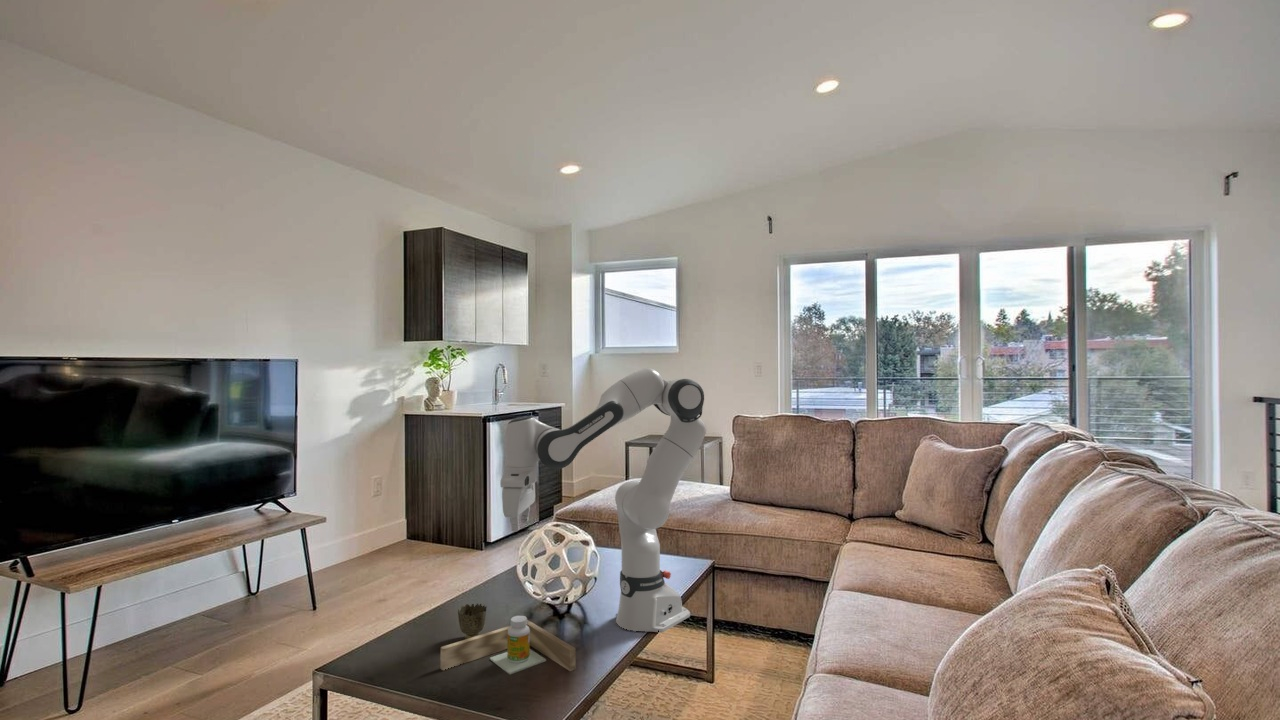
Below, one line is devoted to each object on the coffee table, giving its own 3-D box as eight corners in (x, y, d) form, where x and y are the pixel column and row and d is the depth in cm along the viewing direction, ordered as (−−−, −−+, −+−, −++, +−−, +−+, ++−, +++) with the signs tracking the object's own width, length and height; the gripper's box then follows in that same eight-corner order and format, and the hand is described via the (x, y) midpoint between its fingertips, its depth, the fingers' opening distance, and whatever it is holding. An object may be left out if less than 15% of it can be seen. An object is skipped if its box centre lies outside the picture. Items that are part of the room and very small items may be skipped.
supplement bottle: (505, 664, 142) (506, 623, 143) (508, 653, 148) (509, 614, 148) (528, 663, 143) (528, 622, 143) (530, 653, 148) (530, 613, 148)
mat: (525, 647, 152) (525, 645, 152) (546, 661, 145) (546, 659, 145) (489, 659, 146) (489, 657, 146) (509, 674, 138) (509, 672, 138)
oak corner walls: (527, 639, 157) (527, 620, 157) (575, 669, 141) (575, 648, 141) (440, 668, 141) (440, 647, 141) (482, 706, 125) (482, 682, 125)
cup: (478, 645, 153) (478, 614, 153) (452, 643, 154) (452, 612, 155) (491, 633, 160) (491, 604, 161) (466, 631, 162) (466, 602, 162)
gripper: (519, 469, 172) (519, 517, 172) (498, 481, 152) (497, 535, 151) (540, 470, 172) (540, 517, 171) (522, 482, 151) (521, 536, 151)
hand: (520, 526), depth 161 cm, fingers open, 8 cm apart
